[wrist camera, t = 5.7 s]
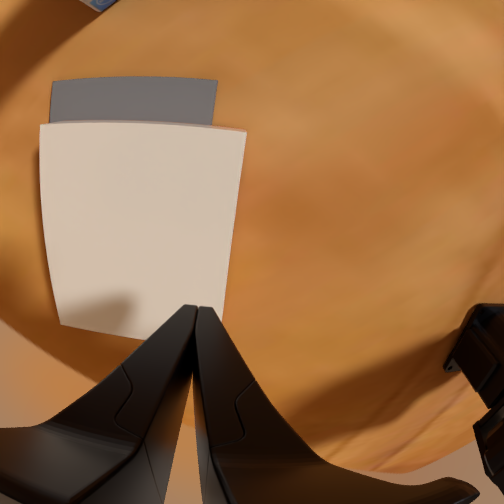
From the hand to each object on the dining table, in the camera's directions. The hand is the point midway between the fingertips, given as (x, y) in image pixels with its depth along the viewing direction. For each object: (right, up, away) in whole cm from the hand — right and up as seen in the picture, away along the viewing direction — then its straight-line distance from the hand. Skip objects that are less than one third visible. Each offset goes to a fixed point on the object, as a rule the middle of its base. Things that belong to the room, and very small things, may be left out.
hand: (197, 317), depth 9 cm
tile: (+1, +2, +5) cm, 5 cm away
